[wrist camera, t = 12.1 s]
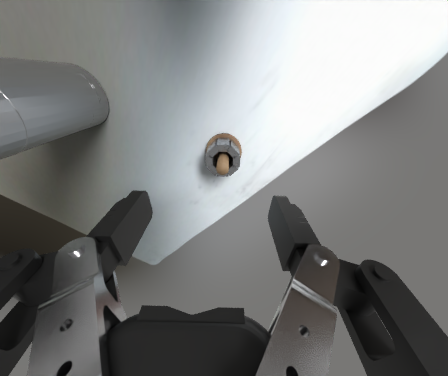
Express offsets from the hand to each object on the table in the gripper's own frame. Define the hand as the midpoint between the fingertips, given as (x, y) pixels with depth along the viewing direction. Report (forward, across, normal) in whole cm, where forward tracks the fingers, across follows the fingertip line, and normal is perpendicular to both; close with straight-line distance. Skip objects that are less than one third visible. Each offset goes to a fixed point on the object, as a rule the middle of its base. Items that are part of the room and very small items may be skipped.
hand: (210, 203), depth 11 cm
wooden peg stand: (+23, -1, +5) cm, 24 cm away
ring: (+22, -1, +5) cm, 23 cm away
